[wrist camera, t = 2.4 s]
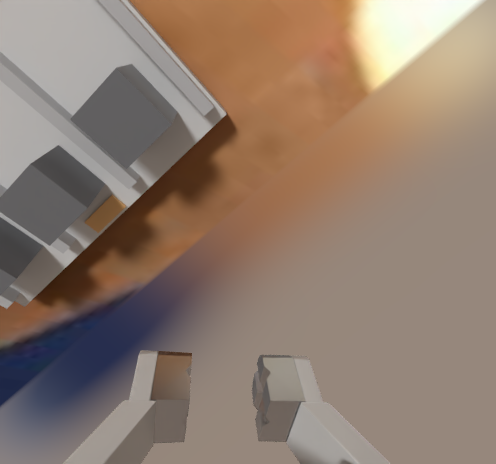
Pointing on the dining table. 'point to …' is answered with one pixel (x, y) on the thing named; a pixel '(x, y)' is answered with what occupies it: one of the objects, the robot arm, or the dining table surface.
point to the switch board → (69, 102)
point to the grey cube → (125, 115)
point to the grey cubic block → (50, 194)
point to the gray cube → (14, 253)
